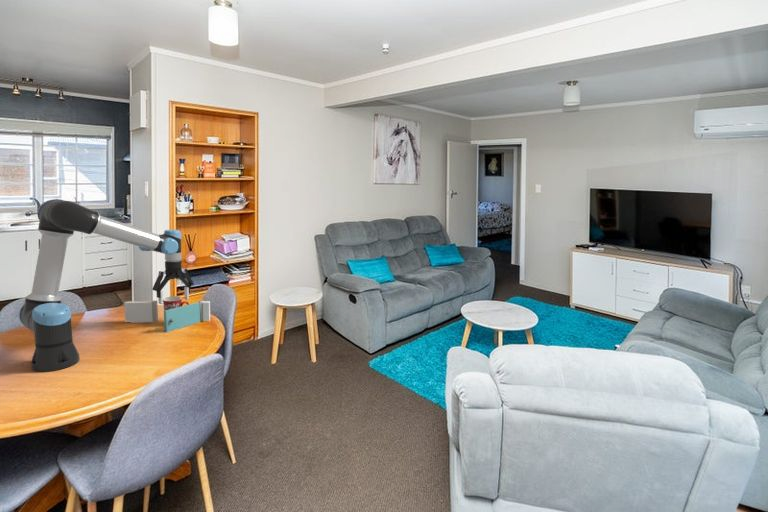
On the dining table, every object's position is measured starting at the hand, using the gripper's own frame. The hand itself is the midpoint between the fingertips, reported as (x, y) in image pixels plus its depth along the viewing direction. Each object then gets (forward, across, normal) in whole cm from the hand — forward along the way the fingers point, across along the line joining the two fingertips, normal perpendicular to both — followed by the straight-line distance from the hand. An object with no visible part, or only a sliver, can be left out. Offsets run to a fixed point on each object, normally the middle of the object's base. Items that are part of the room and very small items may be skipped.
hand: (174, 301), depth 218 cm
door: (+12, -1, +8) cm, 14 cm away
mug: (+12, -1, 0) cm, 12 cm away
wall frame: (+12, 0, -6) cm, 13 cm away
